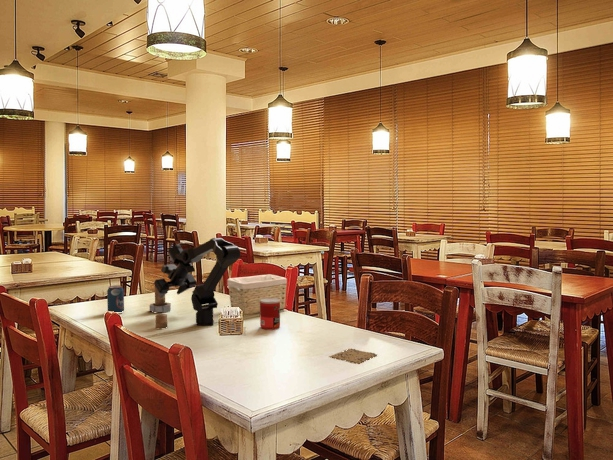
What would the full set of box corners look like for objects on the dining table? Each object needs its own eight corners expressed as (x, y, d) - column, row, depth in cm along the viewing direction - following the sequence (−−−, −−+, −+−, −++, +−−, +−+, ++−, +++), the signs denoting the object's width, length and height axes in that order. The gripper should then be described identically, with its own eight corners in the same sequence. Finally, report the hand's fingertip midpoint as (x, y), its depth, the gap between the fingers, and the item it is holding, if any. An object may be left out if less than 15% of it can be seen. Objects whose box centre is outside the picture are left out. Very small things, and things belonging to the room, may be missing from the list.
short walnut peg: (168, 326, 212) (167, 313, 212) (166, 328, 208) (166, 316, 207) (156, 326, 211) (156, 314, 211) (154, 329, 207) (154, 316, 207)
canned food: (277, 330, 205) (277, 302, 205) (257, 329, 207) (257, 301, 206) (282, 325, 213) (282, 298, 212) (263, 324, 215) (263, 297, 214)
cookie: (348, 349, 181) (348, 347, 181) (378, 356, 173) (379, 353, 173) (327, 358, 172) (327, 355, 172) (359, 365, 164) (359, 362, 164)
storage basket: (242, 316, 230) (242, 282, 229) (226, 309, 243) (225, 277, 242) (288, 309, 243) (288, 277, 242) (270, 303, 256) (270, 273, 255)
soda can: (120, 314, 232) (120, 287, 231) (105, 314, 232) (104, 287, 231) (126, 311, 239) (125, 285, 238) (111, 311, 239) (110, 285, 238)
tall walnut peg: (167, 310, 241) (166, 284, 240) (162, 312, 237) (161, 285, 236) (158, 309, 242) (157, 283, 242) (153, 311, 238) (152, 285, 237)
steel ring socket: (171, 308, 245) (171, 302, 244) (169, 312, 236) (168, 306, 236) (151, 309, 243) (151, 302, 243) (148, 313, 235) (148, 306, 234)
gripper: (190, 255, 235) (177, 279, 243) (154, 260, 221) (141, 285, 229) (202, 273, 231) (189, 297, 238) (166, 280, 217) (153, 304, 224)
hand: (168, 295), depth 233 cm, fingers open, 9 cm apart
